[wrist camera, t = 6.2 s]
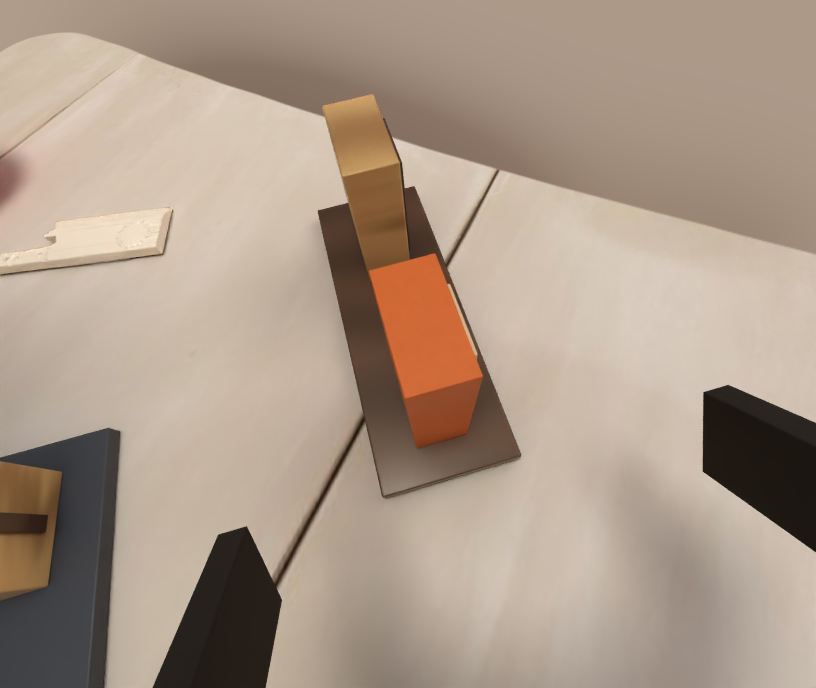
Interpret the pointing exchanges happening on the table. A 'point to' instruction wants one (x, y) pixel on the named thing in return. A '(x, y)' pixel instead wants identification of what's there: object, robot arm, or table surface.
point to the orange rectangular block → (428, 348)
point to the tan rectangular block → (370, 179)
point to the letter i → (26, 527)
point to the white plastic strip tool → (95, 241)
